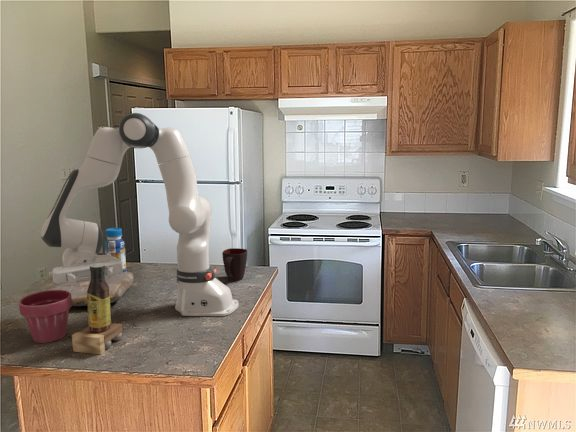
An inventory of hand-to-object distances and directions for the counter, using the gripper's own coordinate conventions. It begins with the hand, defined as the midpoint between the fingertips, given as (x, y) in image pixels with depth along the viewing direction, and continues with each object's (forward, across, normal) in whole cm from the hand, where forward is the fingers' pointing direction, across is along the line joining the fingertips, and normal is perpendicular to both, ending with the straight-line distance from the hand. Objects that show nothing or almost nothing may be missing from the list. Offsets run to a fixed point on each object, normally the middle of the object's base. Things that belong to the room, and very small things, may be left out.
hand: (93, 276), depth 145 cm
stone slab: (-40, +6, +20) cm, 45 cm away
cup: (-27, +61, +20) cm, 70 cm away
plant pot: (-10, -12, +20) cm, 25 cm away
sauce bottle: (+4, 0, +15) cm, 16 cm away
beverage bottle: (-66, +23, +20) cm, 73 cm away
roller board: (+4, -1, +20) cm, 20 cm away
